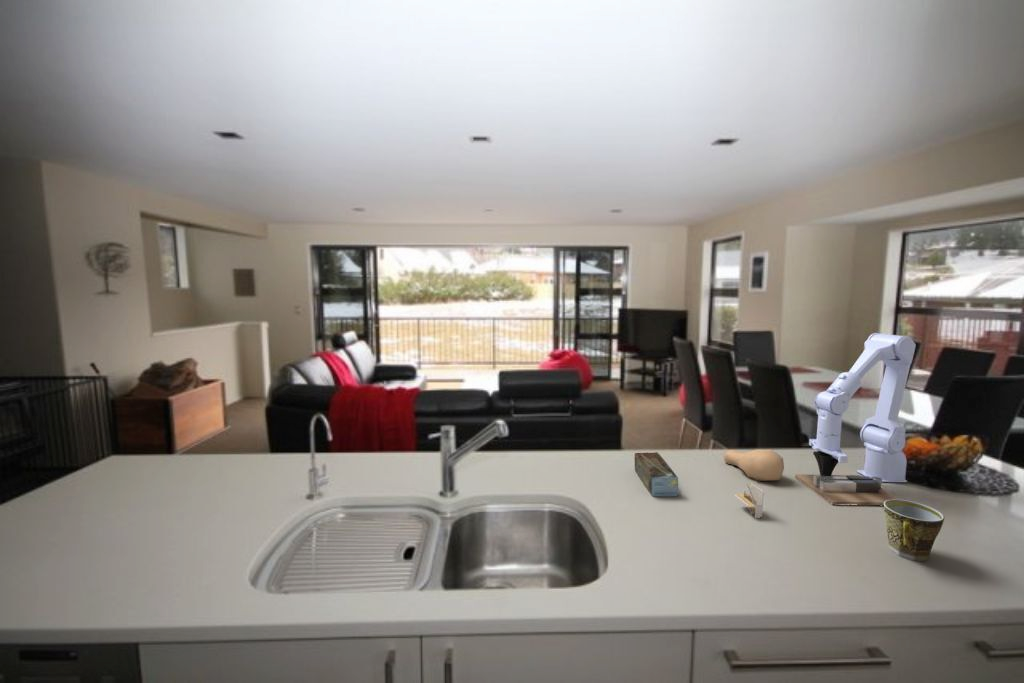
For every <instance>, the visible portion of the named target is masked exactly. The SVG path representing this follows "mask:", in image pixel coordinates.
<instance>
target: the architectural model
mask: <svg viewBox="0 0 1024 683" xmlns="http://www.w3.org/2000/svg"><path fill="white" fill-rule="evenodd" d="M747 488H748V490H749V494H748V493H747V492H746V490H745V491H744V493H735V494H734V496H735V497H736V498H738V499H739V500H740V501H741V502H743V503H744V504H745V505H746V506H747V507H748V510H749V512H750V514H751V515H752V514H753V515H754V519H761V518H760V517H762V518H763V511H764V510H763V509H764V508H763V507H764V506H763V505H764V493H765V492H764V490H762V489H761V488H759V487H758V486H756V485H755V484H754V483H752V481H750V482H749V485H748V486H747Z"/></svg>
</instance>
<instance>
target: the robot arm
mask: <svg viewBox="0 0 1024 683" xmlns="http://www.w3.org/2000/svg"><path fill="white" fill-rule="evenodd" d="M916 346H917V344H916V343H915V341H914V340H913V339H912V338H911V337H910V336H908V335H897V334H887V333H880V332H874V333H871V334H870V335H869V336H868V338H867V340H865V342H864V346H863V347H864V350H863V352H862V353H861V354H860V356H859V357H858V358H857V360H856V361H855V363H854V364H853V366H852V367H851V368H850V369H849V371H844V372H842V373H840V374H839V375H838V376H837V378H836V379H835V380H834V381H833V382H832V383H831V385H830V386H829V387H828V388H827V389H826V390H824V391H822V392H821V391H820V392H819V393H817V395H816V397H815V399H814V400H813V405H814V406H815V409H816V415H818V416H817V427H816V428H817V430H816V438H809V442H808V446H811V449H813V450H815V451H813V452H812V453H813V454H812V455H813V456H814V458H815V460H816V463H817V466H818V469H819V475H821V476H831V475H833V472H834V469H835V468H836V466H837V465H838V463H840V464H841V463H842V464H843V463H848V459H849V458H848V457H849V456H848V455H846V454H845V452H843V450H842V449H841V448H840V445H841V433H842V422H843V414H845V412H847V411H848V409H849V406H850V402H851V400H852V399H851V397H853V396H854V394H855V393H856V392H857V391H858V390H859V389H860V387H862V384H863V382H862V378H863V377H864V376H865V375H866V374H867V373H868V372H869V371H870V370H872V368H874V366H876V365H877V364H878V363H879V362H880V361H882V363H883V364H884V365H885V370H884V373H883V379H882V382H881V383H882V384H881V387H880V392H879V395H878V401H877V404H876V407H875V408H876V409H875V413H874V415H873V416H871V417H869V418H866V419H865V422H864V425H863V427H862V428H861V429H860V432H859V437H860V440H861V441H862V442H863V446H865V455H864V456H865V458H864V459H865V460H864V468H863V469H857V470H856V472H857V473H859V475H861V476H869V477H879V478H881V479H882V483H907V482H908V480H906V475H907V474H906V473H907V460H908V459H907V457H906V456H907V455H906V454H905V453H904V451H902V450H903V449H904V447H905V446H906V428H905V427H904V426H903V425H902V424H901V423H900V421H898V418H899V415H900V411H901V405H902V403H903V402H902V401H903V398H904V394H905V389H906V384H907V382H908V381H907V380H908V375H909V372H910V368H911V365H912V363H913V359H914V355H915V350H916Z"/></svg>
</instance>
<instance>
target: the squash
mask: <svg viewBox="0 0 1024 683" xmlns="http://www.w3.org/2000/svg"><path fill="white" fill-rule="evenodd" d="M723 454H724V455H723V460H724V463H725V464H727V465H728V464H729V465H733V466H736V467H738V468H739V469H740V470H742V472H744V474H746V476H747V477H748V478H749V479H753V480H756V481H761V482H762V481H780V480H781V478H782V477H783V474H784V473H783V472H784V470H785V469H784V468H785V462H784V458H783V457H782V456H781V455H780V454H779V453H777V452H776V451H774V450H772V449H771V448H770V449H760V448H758V449H754V450H751V451H746V452H741V451H738V450H735V449H728V450H727V451H726V452H724V453H723Z"/></svg>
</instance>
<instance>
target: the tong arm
mask: <svg viewBox="0 0 1024 683" xmlns="http://www.w3.org/2000/svg"><path fill="white" fill-rule="evenodd" d="M820 480H841V481H852V480H875V481H877V482H879V489H881V488H882V485H883V482H882V479H881V478H879V477H869V476H864V475H860V476H846V477H836V476H814V478H813V484H814V485H815V486H820Z"/></svg>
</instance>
